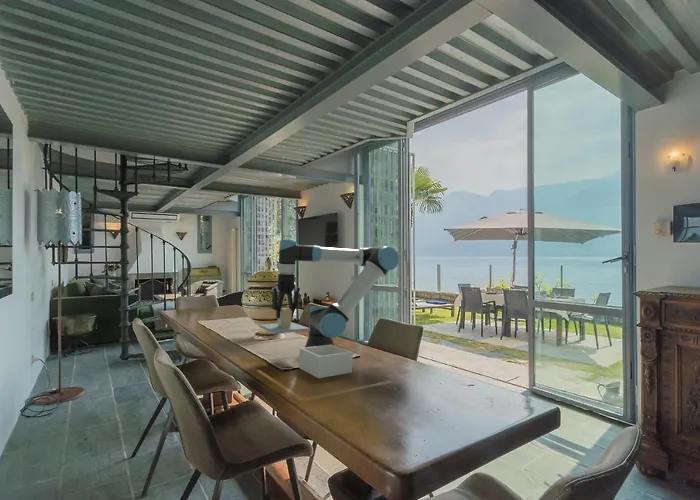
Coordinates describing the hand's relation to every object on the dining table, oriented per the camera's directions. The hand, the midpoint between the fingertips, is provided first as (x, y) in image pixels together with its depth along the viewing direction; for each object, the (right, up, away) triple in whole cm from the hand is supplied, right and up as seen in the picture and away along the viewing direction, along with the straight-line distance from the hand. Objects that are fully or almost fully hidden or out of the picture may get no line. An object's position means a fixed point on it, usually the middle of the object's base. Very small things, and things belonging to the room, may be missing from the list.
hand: (284, 325), depth 173 cm
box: (+19, -17, -14) cm, 29 cm away
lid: (0, -2, 0) cm, 2 cm away
